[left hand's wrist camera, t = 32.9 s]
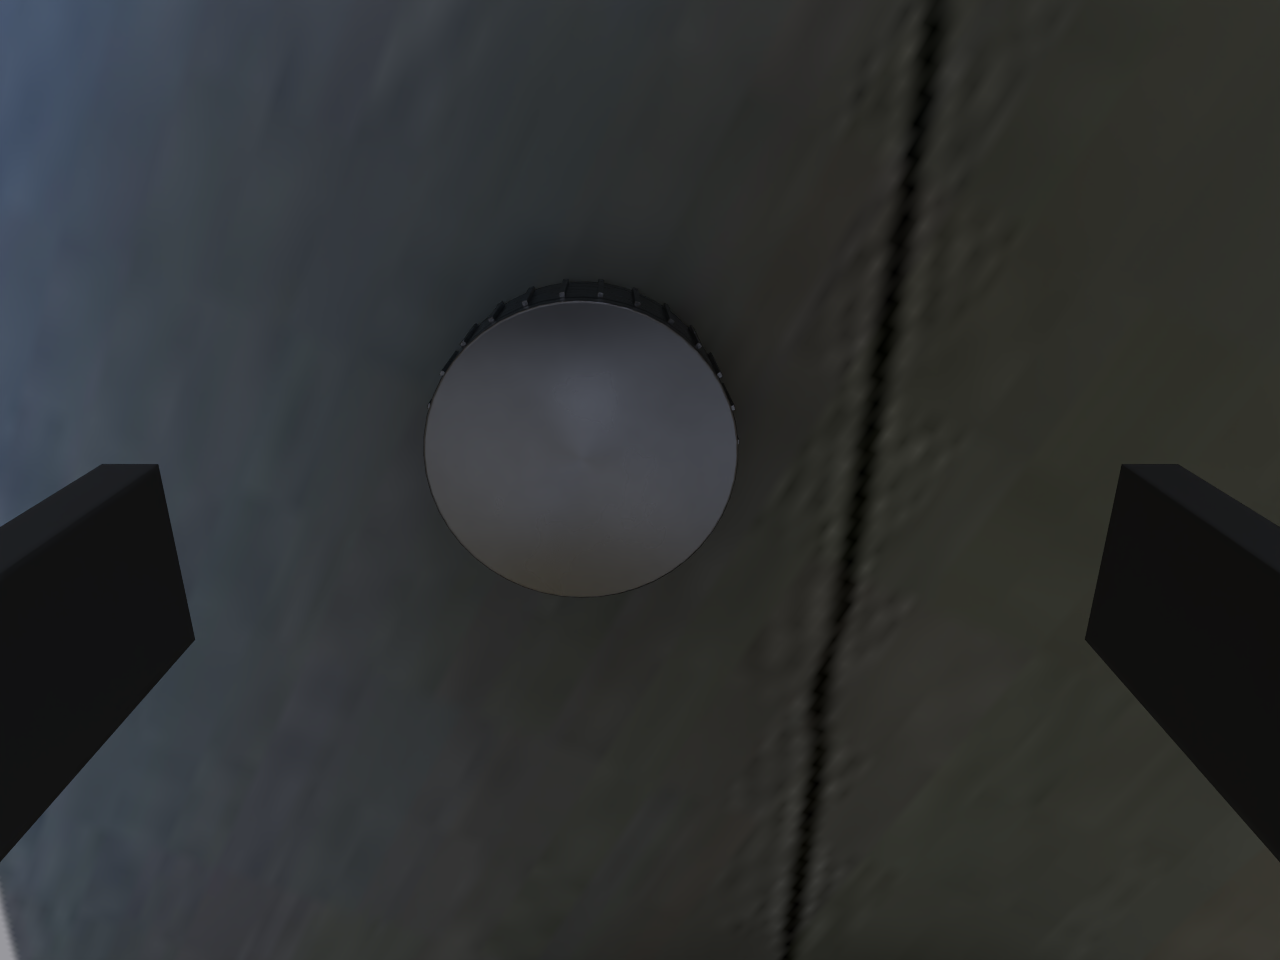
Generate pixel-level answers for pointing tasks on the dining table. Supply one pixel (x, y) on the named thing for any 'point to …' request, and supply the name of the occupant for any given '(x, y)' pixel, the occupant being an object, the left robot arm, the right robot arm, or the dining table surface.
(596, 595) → the lid
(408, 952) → the dining table surface
